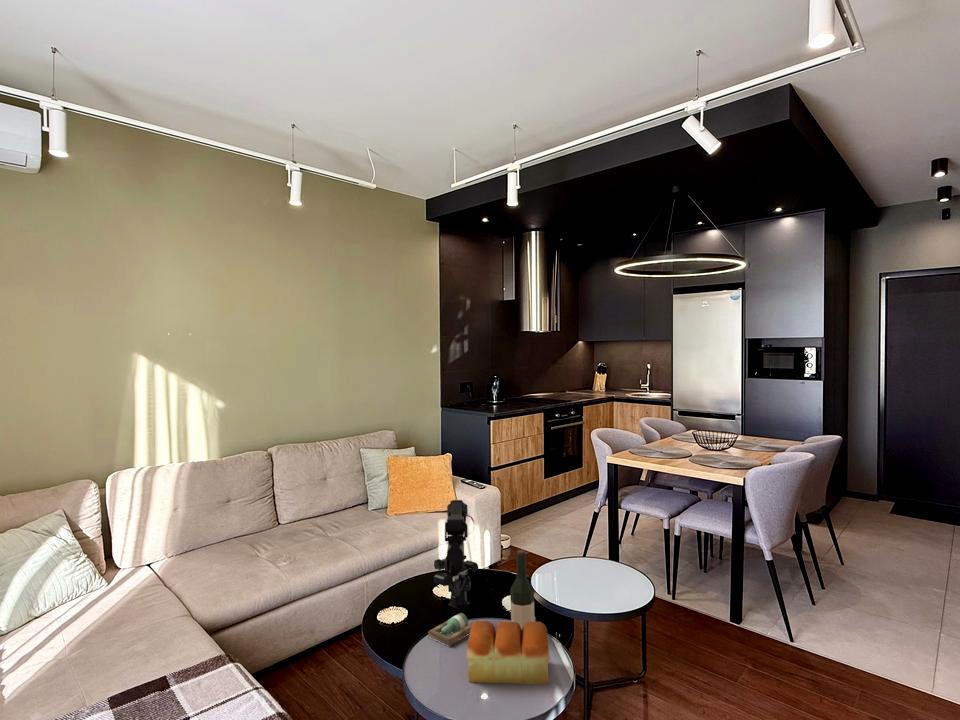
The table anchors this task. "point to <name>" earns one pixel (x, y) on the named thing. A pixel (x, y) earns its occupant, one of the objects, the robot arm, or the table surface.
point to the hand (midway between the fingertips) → (457, 596)
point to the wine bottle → (522, 594)
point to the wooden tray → (451, 639)
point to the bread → (508, 653)
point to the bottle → (455, 624)
